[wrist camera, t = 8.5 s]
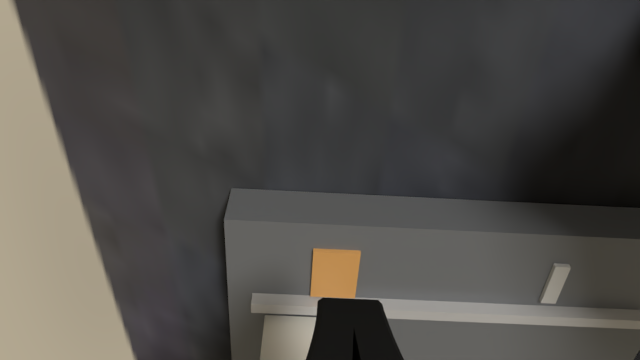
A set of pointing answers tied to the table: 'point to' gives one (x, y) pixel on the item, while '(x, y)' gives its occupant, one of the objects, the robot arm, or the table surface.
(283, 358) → the block
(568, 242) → the panel
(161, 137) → the table surface
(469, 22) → the table surface
